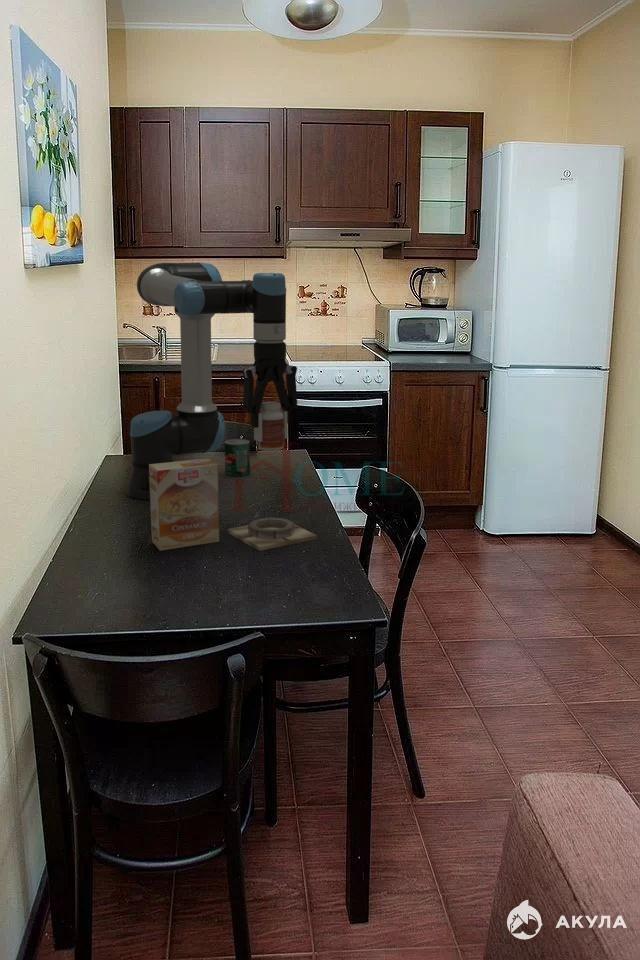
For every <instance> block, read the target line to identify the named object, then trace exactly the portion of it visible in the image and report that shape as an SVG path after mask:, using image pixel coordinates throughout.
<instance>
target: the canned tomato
mask: <svg viewBox="0 0 640 960" xmlns="http://www.w3.org/2000/svg"><path fill="white" fill-rule="evenodd" d="M223 443H224V472H225V473H224V475H225V476H224V477H226V478H228V479H231V480H242V479H247V478H249V477H251V451H250V450H251V449H250V447H251V446H250V443H251V442H250V440H248V439H244V438H232V439H226V440H223Z"/></svg>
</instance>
